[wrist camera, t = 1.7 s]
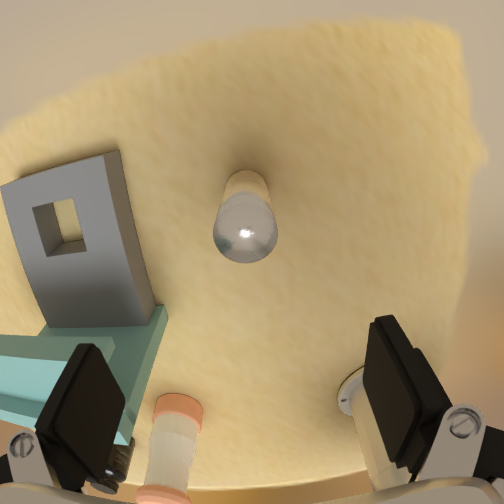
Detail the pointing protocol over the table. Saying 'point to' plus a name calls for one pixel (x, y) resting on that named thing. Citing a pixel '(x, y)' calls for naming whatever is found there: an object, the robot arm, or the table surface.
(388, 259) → the table surface
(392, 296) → the table surface
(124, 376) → the socket stand
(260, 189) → the peg
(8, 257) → the table surface
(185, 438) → the salt shaker
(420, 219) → the table surface
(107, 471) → the supplement bottle
